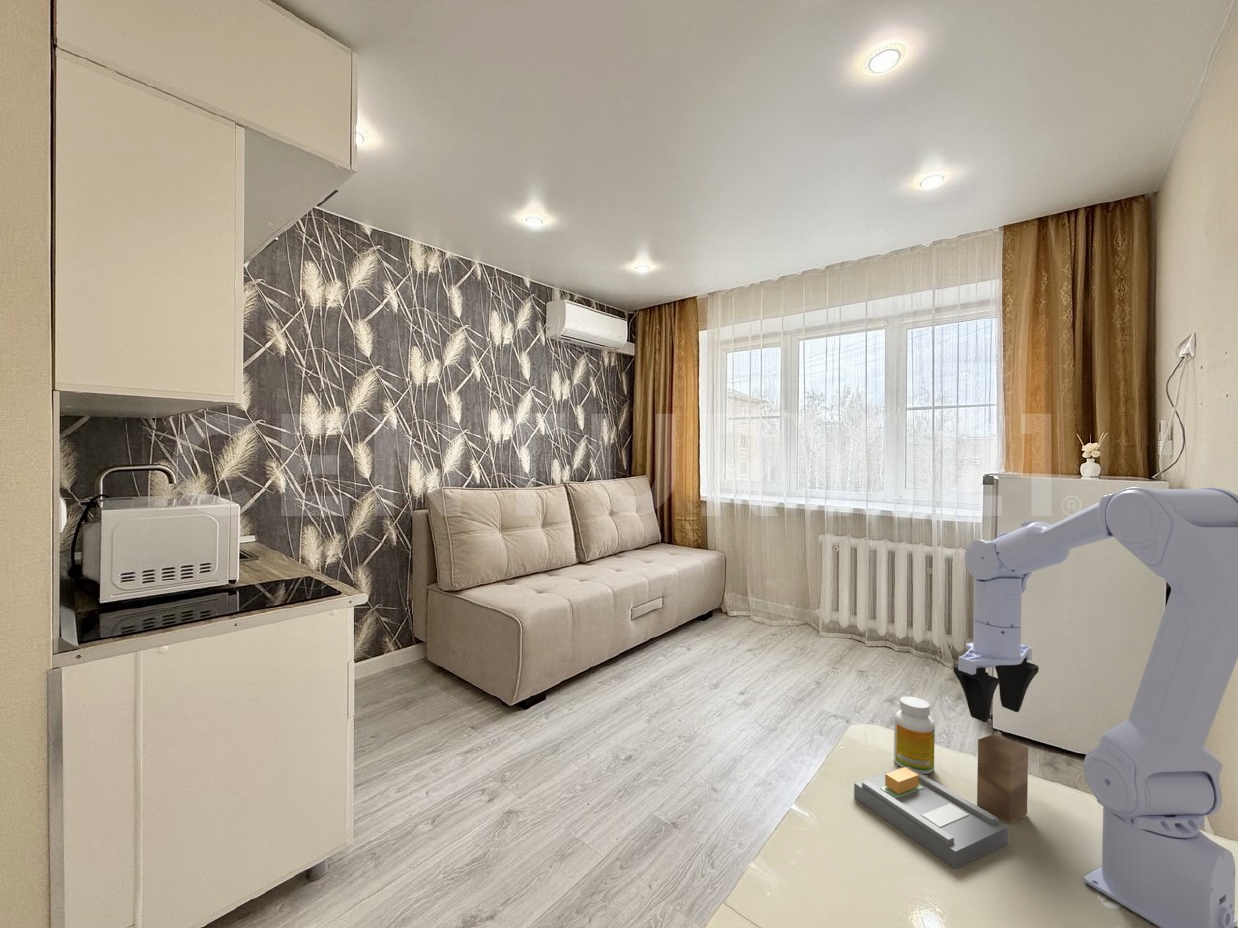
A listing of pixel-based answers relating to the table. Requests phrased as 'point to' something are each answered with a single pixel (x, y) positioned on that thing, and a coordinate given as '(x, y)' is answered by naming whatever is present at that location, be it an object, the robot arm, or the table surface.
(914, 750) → the supplement bottle
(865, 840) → the table surface
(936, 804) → the grey railed tray
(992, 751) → the tan wooden post
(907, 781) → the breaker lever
